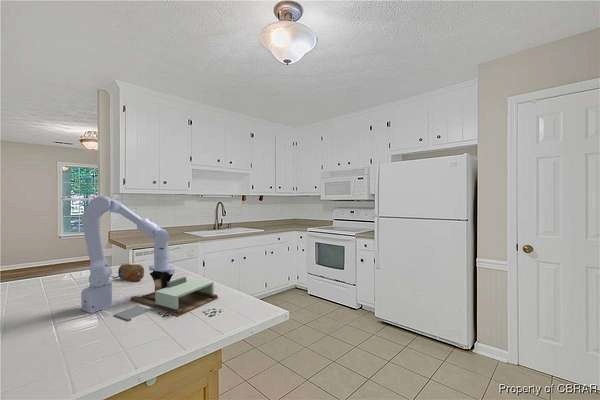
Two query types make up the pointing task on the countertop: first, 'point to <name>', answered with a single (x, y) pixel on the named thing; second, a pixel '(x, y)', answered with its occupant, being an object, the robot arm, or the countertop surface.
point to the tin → (131, 272)
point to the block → (158, 284)
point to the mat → (132, 312)
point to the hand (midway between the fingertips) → (161, 288)
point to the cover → (181, 291)
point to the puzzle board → (184, 302)
